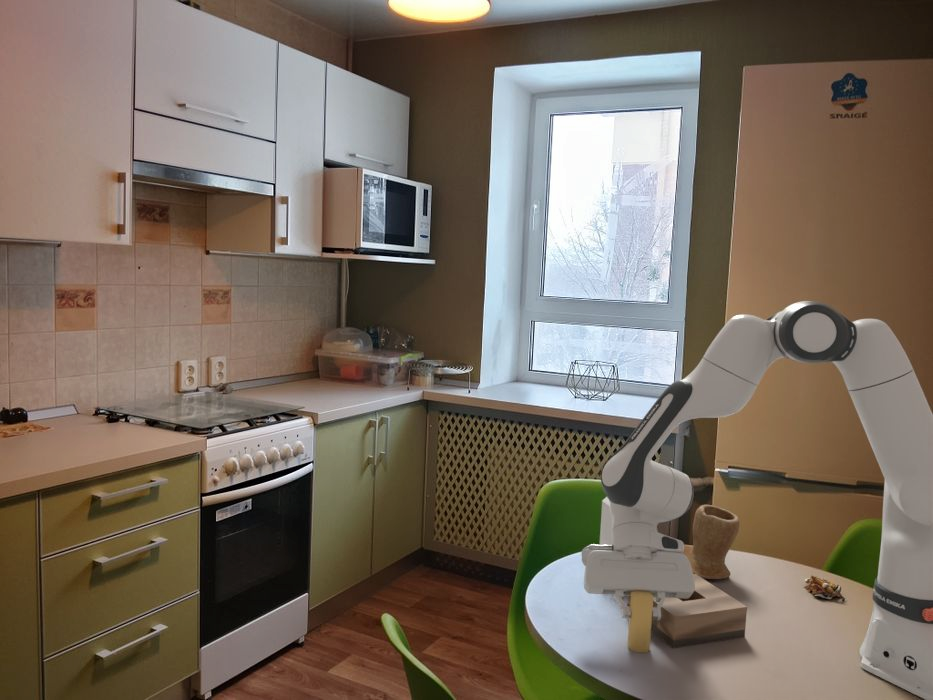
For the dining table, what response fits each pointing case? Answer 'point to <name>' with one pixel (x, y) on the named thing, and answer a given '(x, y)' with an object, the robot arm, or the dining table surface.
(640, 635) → the pin
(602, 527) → the milk carton
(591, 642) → the dining table surface
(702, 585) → the bore block
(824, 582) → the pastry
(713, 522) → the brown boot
